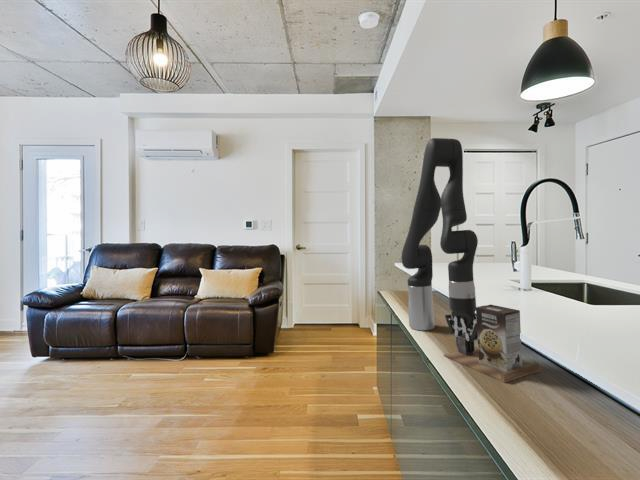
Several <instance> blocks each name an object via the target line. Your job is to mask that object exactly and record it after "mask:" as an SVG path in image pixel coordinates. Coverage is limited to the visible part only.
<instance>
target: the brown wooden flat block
mask: <svg viewBox="0 0 640 480" xmlns="http://www.w3.org/2000/svg"><path fill="white" fill-rule="evenodd" d="M457 340H458V348H457V349H458V350H456V351H452V352H448V353H444V354H443V357H444V358H447V359H449V360H452V361H453V362H456V363H459V364H460V363H461V365H463V366H465V367H468V368H469V369H472V370H475V371H476V372H479V373H481V374H483V375H486V376H489V377H490V378H493V379H495V380H497V381H500V382H502V383H504V384H505V383H508V382H512V381H515V380H518V379H521V378H523V377H527V376H529V375H532V374H535V373H538V372H540V365H539V363H538V362H533V363H530V364H525V363H523V362H522V367H520V368H517V369H514V370H511V371H507V372H504V373H503V372H500V371H498V370H495V369H493V368H490V367H488V366H485V365H483V364H480V363H479V351H478V346H475V345H474V351H473V352H471V353H468V352H467V349H466V336H465V334H463V335H461V336H457Z"/></svg>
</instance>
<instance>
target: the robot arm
mask: <svg viewBox="0 0 640 480" xmlns="http://www.w3.org/2000/svg"><path fill="white" fill-rule="evenodd" d="M425 145H426V146H425V149H424V153H423V159H422V165H421V166H422V167H421V173H420V180H419V186H418V190H417V194H416V199H415V202H414V207H413V212H412V217H411V221H410V225H409V228H408V233H407V236H406V239H405V242H404V245H403V248H402V252H401V264H402V266H403V267H404V268H405V269H408V270H410V269H411V270H414V269H417V271H416V272H415V273H414V274H413V275H411V276H410V277H408V278H407V291H408V303H407V310H408V312H407V313H408V326H409V327H410V328H411V329H413V330H415V331H430V330H433V329H435V316H434V315H435V314H434V299H433V287H432V285H433V284H432V282H433V254H432V250H431V248H430V246H428V245H426V244H420V243H421V242H422V239H423V238H424V237H425V235H427V234H428V233H429V231H431V230H432V228H433V227H434V226H435V224H436V223H437V221H438V219H439V216H440V212H441V216H442V229H441V230H442V231H441V236H440V242H439V243H440V248H441V250H442V252H444V253H445V254H447V255H452V254H455V255H456V254H463V255H462V257H461V258H459V259H457V260H453V261H451V262H448V264H447V265H448V266H447V270H448V272H447V273H448V274H447V275H448V297H449V299H448V300H449V301H448V303H449V310H451V312H450V313H449V314H445V315H444V318H445V321H446V323H447V326H448V330H449V331H450V333H451V334H453V335H454V337H456V338H455V342H456V347H457V349H458V340H457V336H461V335H465V336H466V349H467V352H468V353H471V352H473V351H474V346H475V341H478V334H477V318H476V307H477V300H476V299H477V297H476V287H475V281H474V279H475V278H474V262H475V261H474V260H475V256H476V251H477V249H478V243H479V239H478V236H477V234H476V233H475V232H474V231H473V230H472V229H464V230H453V227H456V226H460V225H463V224H464V223H466V221H467V220H468V217H467V216H468V215H467V211H466V204H465V199H464V198H465V197H464V188H463V184H464V183H463V182H464V181H463V180H464V178H463V177H464V173H463V172H464V166H463V163H464V160H463V159H464V158H463V156H464V155H463V147H462V144H461V142H460V140H458V139H456V138H442V137H440V138H439V137H432V138H430V139H429V140H428V141H427V143H426V144H425ZM437 167H439V168H440V167H441V168H444V167H445V168H448V171H449V177H448V181H447V183H446V185H445V187H444V189H443V191H442V193H441V195H440V193H439V190H438V188H437V185H436V182H435V173H436V172H435V171H436V168H437Z"/></svg>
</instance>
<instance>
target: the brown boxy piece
mask: <svg viewBox="0 0 640 480" xmlns="http://www.w3.org/2000/svg"><path fill="white" fill-rule="evenodd" d="M475 316H476V319H477V334H478V339H477V347H478V351H479V363H480V364H483V365H485V366H488V367H490V368H493V369H495V370H498V371H500V372H503V373H504V372H507V371H511V370H514V369H517V368H520V367H522V363H523V354H522V353H523V352H522V351H523V350H522V338H521V339H520V333H521V334H522V331H521V330H522V329H521V310H520V309H516V308H510V307H504V306H501V305H495V304H487V305H485V304H484V305H480V306H476V311H475Z"/></svg>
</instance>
